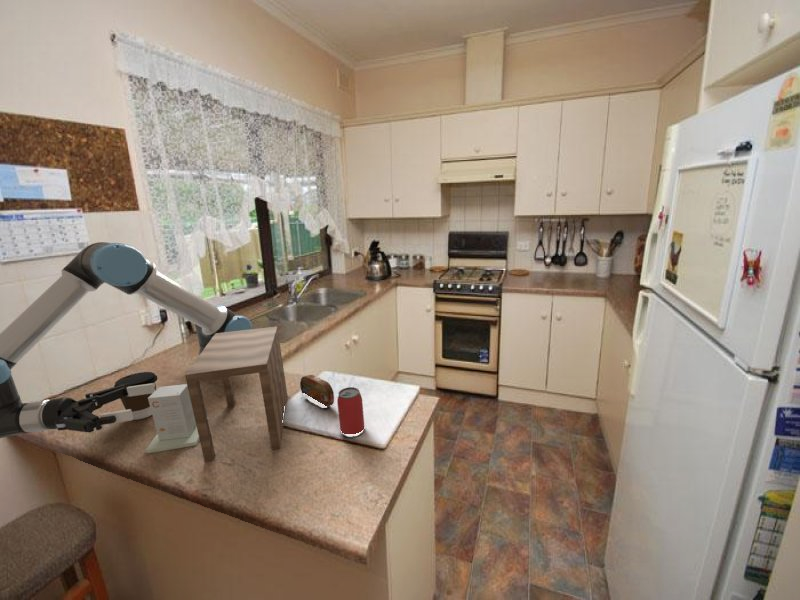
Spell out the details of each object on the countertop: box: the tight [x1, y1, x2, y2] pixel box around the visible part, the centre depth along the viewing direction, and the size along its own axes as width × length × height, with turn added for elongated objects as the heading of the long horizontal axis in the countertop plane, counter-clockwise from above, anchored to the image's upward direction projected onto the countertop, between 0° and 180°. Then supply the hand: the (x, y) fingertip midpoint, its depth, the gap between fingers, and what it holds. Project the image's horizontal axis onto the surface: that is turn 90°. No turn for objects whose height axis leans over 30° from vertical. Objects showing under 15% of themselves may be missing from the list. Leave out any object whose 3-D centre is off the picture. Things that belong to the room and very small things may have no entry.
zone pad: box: [146, 416, 210, 454], centre depth 102 cm, size 12×12×1 cm
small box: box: [148, 383, 197, 440], centre depth 101 cm, size 8×6×13 cm
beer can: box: [336, 386, 365, 434], centre depth 99 cm, size 7×7×12 cm
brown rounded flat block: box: [299, 374, 335, 408], centre depth 115 cm, size 15×3×8 cm, turn 47°
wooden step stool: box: [184, 326, 288, 463], centre depth 103 cm, size 28×18×24 cm, turn 13°
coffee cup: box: [113, 371, 158, 421], centre depth 112 cm, size 11×11×12 cm
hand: (143, 400), depth 98 cm, fingers open, 13 cm apart
